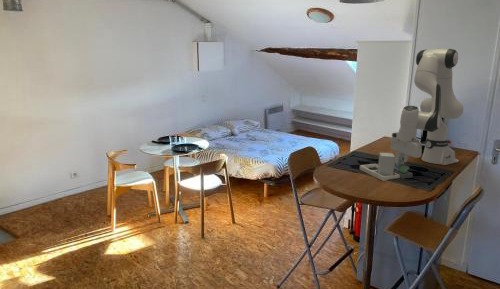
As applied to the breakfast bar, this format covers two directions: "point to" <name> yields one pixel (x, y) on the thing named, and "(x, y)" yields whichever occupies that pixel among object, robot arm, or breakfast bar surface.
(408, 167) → the tray
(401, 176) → the button housing
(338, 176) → the breakfast bar surface
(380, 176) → the white open frame
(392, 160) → the supplement box
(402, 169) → the button
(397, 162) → the cylinder
